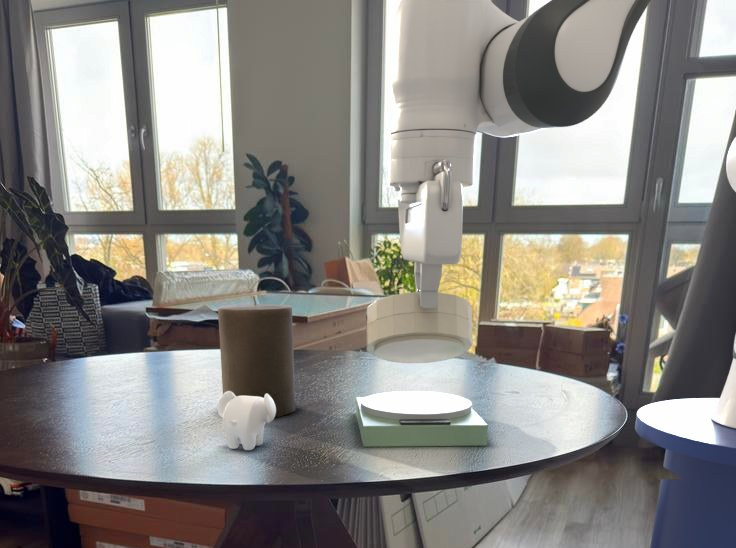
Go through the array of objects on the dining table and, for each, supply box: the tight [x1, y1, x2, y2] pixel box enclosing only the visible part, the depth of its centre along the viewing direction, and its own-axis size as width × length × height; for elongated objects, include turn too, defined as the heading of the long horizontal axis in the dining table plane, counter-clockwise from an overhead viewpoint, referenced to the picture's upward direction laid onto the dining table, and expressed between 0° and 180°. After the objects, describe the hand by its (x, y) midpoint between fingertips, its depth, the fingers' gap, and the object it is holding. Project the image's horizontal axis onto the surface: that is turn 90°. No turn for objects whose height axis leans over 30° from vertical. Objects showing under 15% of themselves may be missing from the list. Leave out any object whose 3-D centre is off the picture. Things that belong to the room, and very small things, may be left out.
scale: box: [355, 390, 489, 448], centre depth 88 cm, size 14×16×3 cm
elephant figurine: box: [216, 391, 276, 451], centre depth 80 cm, size 7×8×6 cm
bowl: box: [365, 291, 474, 364], centre depth 85 cm, size 12×12×5 cm
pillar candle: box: [217, 295, 296, 418], centre depth 96 cm, size 10×10×15 cm
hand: (426, 306), depth 79 cm, fingers closed on bowl
